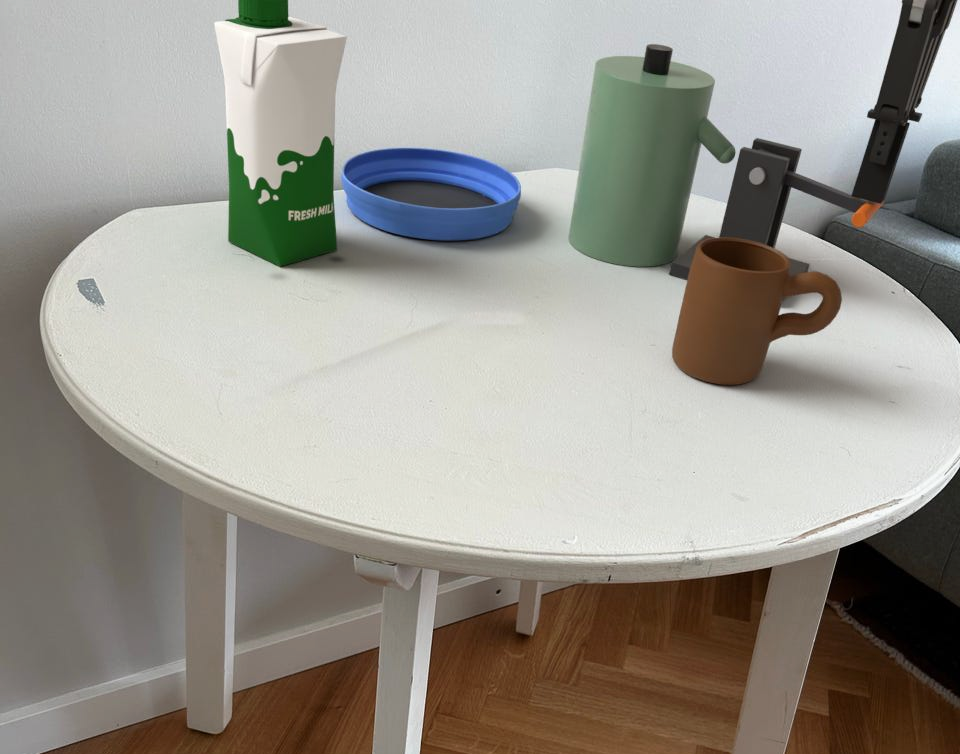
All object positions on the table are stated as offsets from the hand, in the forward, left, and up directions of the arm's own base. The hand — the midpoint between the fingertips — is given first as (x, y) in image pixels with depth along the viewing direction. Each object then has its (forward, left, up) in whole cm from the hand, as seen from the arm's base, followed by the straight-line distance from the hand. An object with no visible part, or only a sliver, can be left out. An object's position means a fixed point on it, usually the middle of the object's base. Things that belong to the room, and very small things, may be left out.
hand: (867, 197), depth 100 cm
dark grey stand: (+10, 0, -10) cm, 14 cm away
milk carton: (+46, +25, -10) cm, 53 cm away
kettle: (+20, +1, -10) cm, 22 cm away
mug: (+3, +21, -10) cm, 23 cm away
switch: (+5, 0, -2) cm, 5 cm away
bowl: (+41, +7, -10) cm, 42 cm away
